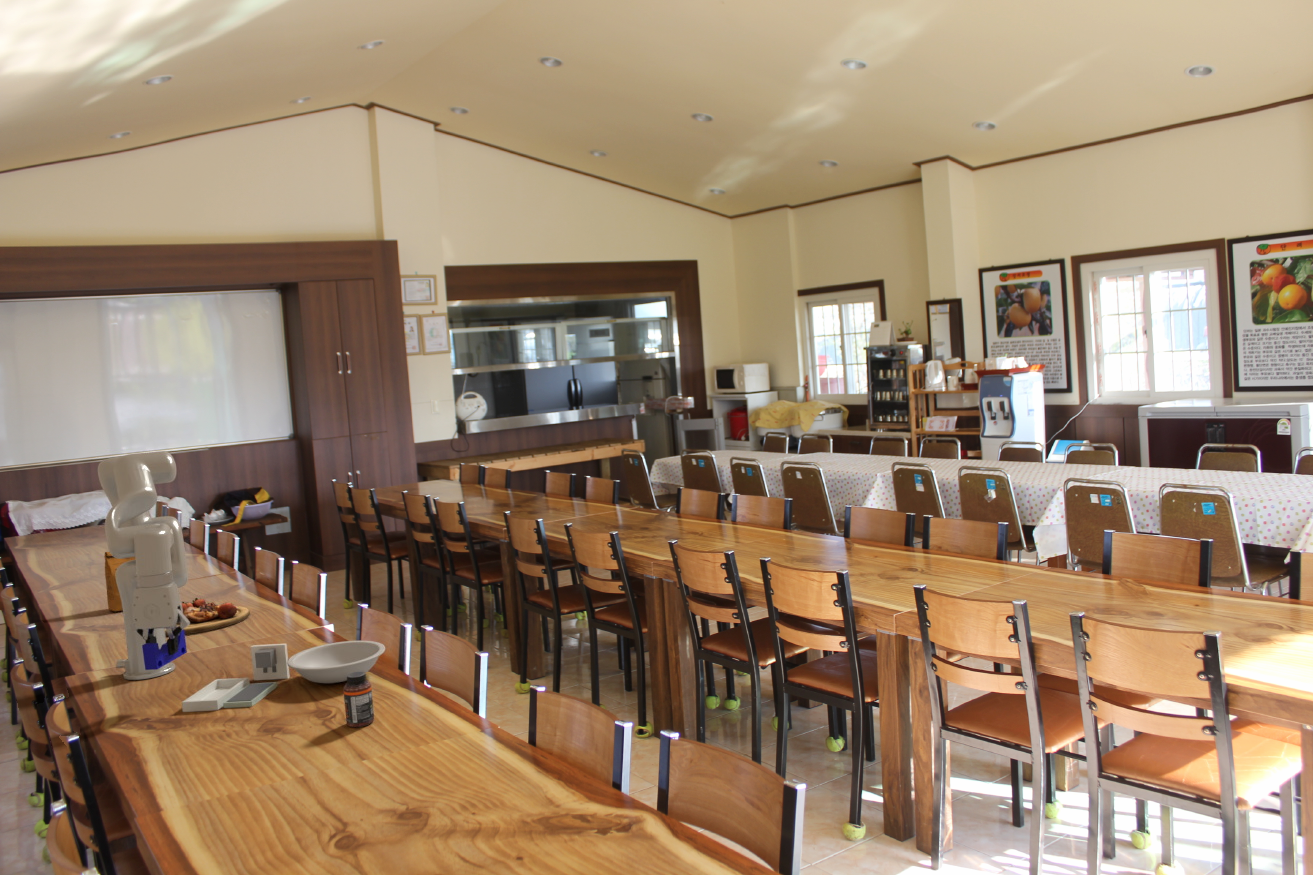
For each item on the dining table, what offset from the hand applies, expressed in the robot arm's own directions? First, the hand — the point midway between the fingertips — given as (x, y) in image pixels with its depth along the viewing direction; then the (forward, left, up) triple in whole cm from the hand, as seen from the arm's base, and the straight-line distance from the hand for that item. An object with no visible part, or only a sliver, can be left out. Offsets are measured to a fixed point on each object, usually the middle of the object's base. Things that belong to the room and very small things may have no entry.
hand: (162, 653), depth 230 cm
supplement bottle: (+53, -17, -14) cm, 58 cm away
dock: (+10, +5, -14) cm, 17 cm away
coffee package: (-76, +111, -14) cm, 135 cm away
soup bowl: (+36, +16, -14) cm, 42 cm away
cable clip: (0, 0, -2) cm, 2 cm away
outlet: (+17, +17, -14) cm, 28 cm away
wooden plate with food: (-36, +83, -14) cm, 92 cm away
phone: (+18, +5, -14) cm, 23 cm away
